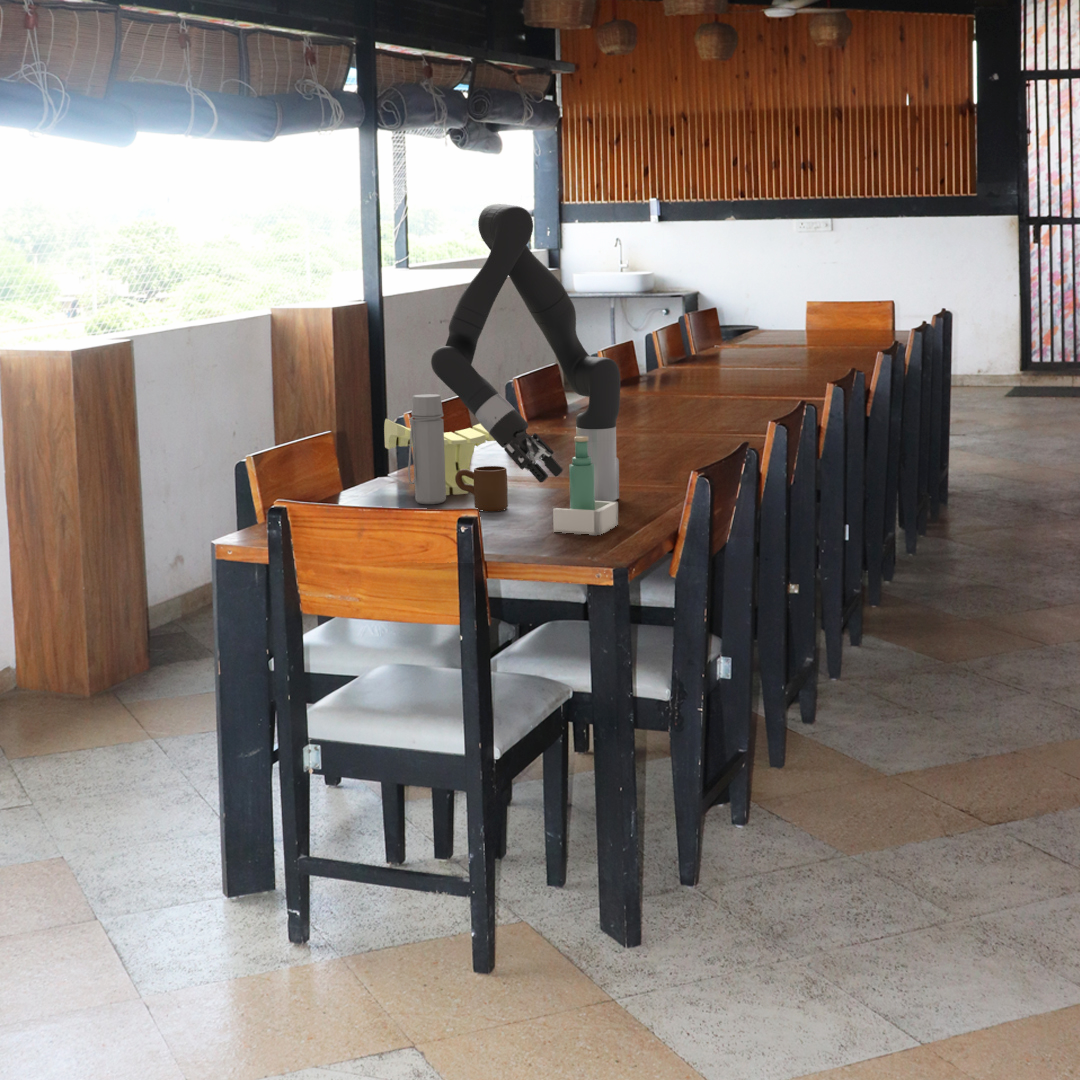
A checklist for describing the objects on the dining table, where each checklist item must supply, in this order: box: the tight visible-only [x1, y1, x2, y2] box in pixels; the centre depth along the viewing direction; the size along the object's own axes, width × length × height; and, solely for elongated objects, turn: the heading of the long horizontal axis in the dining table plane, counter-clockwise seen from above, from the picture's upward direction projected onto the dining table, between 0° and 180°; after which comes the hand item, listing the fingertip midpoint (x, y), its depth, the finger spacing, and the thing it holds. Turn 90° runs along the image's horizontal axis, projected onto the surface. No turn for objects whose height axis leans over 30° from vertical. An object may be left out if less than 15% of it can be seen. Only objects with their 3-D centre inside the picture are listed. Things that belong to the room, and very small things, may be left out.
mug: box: [455, 465, 509, 512], centre depth 308 cm, size 12×8×9 cm, turn 79°
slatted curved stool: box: [383, 418, 496, 496], centre depth 334 cm, size 30×16×18 cm, turn 108°
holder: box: [552, 501, 619, 536], centre depth 284 cm, size 10×11×5 cm
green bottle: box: [568, 436, 595, 510], centre depth 283 cm, size 5×5×19 cm
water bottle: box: [407, 393, 447, 505], centre depth 316 cm, size 9×8×25 cm
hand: (552, 476), depth 285 cm, fingers open, 8 cm apart
